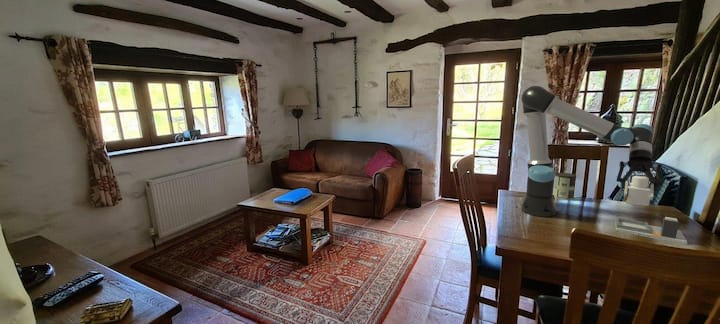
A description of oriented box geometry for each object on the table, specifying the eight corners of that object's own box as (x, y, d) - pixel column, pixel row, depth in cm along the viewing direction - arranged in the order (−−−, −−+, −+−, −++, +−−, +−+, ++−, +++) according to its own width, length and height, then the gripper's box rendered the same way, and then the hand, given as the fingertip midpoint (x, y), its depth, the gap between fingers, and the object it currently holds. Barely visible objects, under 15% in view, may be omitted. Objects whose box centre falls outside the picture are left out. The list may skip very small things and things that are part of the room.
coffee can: (568, 195, 180) (571, 172, 177) (577, 200, 170) (580, 176, 167) (549, 194, 182) (552, 172, 179) (557, 199, 172) (559, 176, 170)
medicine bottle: (624, 199, 133) (628, 173, 131) (645, 201, 129) (650, 175, 127) (626, 203, 127) (630, 176, 125) (649, 206, 123) (653, 178, 121)
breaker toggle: (661, 236, 120) (664, 218, 119) (660, 233, 123) (663, 216, 121) (675, 238, 118) (679, 220, 116) (674, 236, 120) (677, 218, 119)
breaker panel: (616, 231, 129) (617, 225, 128) (615, 221, 139) (616, 216, 138) (686, 244, 116) (687, 238, 115) (680, 233, 126) (681, 227, 125)
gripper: (670, 160, 130) (670, 205, 121) (610, 156, 143) (606, 197, 134) (674, 150, 125) (674, 196, 116) (612, 147, 138) (608, 188, 128)
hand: (638, 196), depth 125 cm, fingers closed on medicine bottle, 7 cm apart
